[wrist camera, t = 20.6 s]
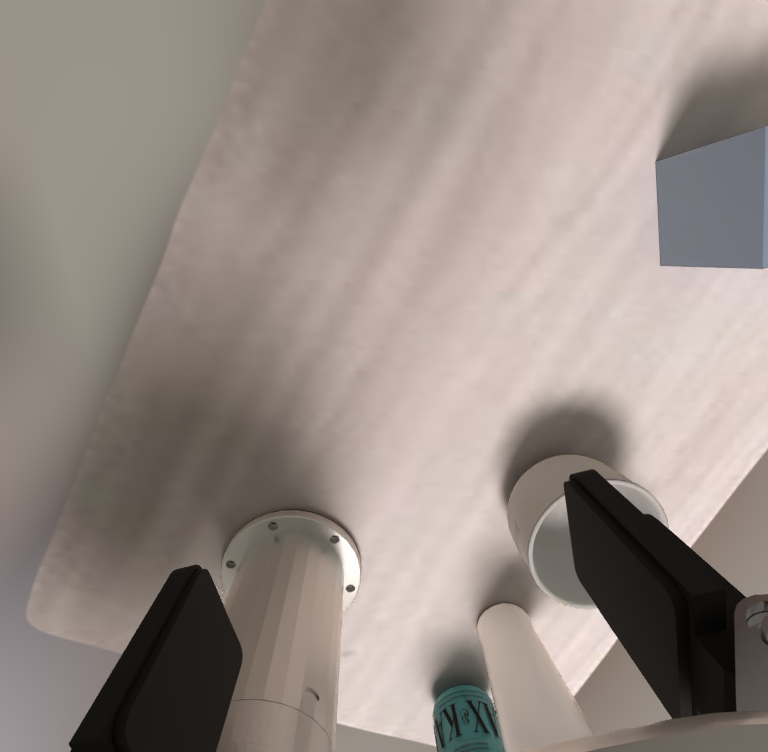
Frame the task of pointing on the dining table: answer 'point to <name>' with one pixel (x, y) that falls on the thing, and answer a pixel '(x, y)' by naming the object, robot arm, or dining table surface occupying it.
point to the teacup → (561, 522)
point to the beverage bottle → (466, 721)
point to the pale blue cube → (715, 204)
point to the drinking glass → (526, 683)
